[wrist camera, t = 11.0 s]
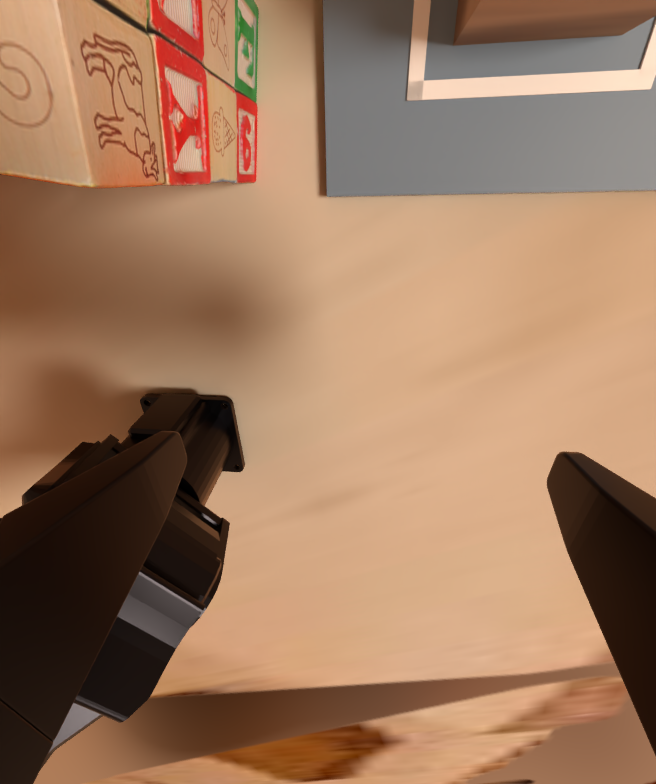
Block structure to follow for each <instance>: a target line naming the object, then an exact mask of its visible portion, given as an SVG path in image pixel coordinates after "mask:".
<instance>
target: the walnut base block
mask: <svg viewBox="0 0 656 784" xmlns="http://www.w3.org/2000/svg"><path fill="white" fill-rule="evenodd" d="M655 16H656V0H458V8H457V16H456V24H455V33H454V41H453V46H456V45H473V44H489V43H505V42H521V41H538V40H554V39H570V38H586V37H603V36H619V35H623V34H625V33H626V32H628V31H630V30H632V29H633V28H635V27H637V26H639V25H640V24H642V23H644V22H646V21H647V20H649V19H651V18H653V17H655Z"/></svg>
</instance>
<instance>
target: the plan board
mask: <svg viewBox="0 0 656 784" xmlns="http://www.w3.org/2000/svg"><path fill="white" fill-rule="evenodd" d="M457 8H458V0H323V33H324V82H325V131H326V180H327V197H335V196H386V195H436V194H487V193H538V192H588V191H639V190H656V16H655V17H653V18H651V19H649V20H647V21H646V22H644V23H642V24H640V25H639V26H637V27H635V28H633V29H632V30H630V31H628V32H626V33H625V34H623V35H619V36H603V37H586V38H570V39H554V40H538V41H521V42H505V43H489V44H473V45H456V46H453V41H454V33H455V24H456V16H457Z"/></svg>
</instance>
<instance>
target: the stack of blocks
mask: <svg viewBox="0 0 656 784" xmlns="http://www.w3.org/2000/svg"><path fill="white" fill-rule="evenodd" d="M258 12H259V11H258V7H257V5H256V4H255V2H254V0H0V174H2V175H9V176H15V177H21V178H27V179H33V180H39V181H45V182H51V183H57V184H64V185H70V186H77V187H88V188H117V187H141V186H155V185H169V186H174V185H176V186H189V185H198V184H209V183H215V182H228V183H254V182H255V181H256V159H257V103H256V93H257V50H258Z"/></svg>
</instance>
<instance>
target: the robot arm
mask: <svg viewBox="0 0 656 784" xmlns="http://www.w3.org/2000/svg"><path fill="white" fill-rule="evenodd" d="M147 400H148V401H150V403H149V402H148V401H147ZM140 403H141V406H142V409H143V412H144V414H143V415H142V416H141V417H140V418H139V419H138V420H137V421H136V422H135V423H134V424H133V425H132V426H131V428H130V429H129V430H128V433H129V436H128V437H127V438H126V439H125V440H124V441H123V442H122V443H121V444H120V443H119V442H118V441H119V440H118V439H117V438H115V437H114V436H113V435H111V434H110V435H109V436H108V437H107V438H106V439H105V440H104V441H103V442H102V443H100V442H99V441H97V442H96V443H95V444H94V443H86V442H82V443H81V444H80V445H79V446H78V447H76V448H75V449H74V450H73V451H72V452H71V453H70V454H69V455H68V456H67V457H65V458H64V459H63V460H62V461H61V462H60V463H59V464H58V465H56V466H55V467H54V468H53V469H52V470H51V471H49V472H48V473H47V474H46V475H45V476H44V477H42V478H41V479H40V480H39V481H38V482H36V483H35V484H34V485H33V486H32V487H31V488H30V489H29V490H28V491H26V492H25V493H24V494H23V495H22V506H21V507H19V508H17V509H15V510H13V511H11V512H9V513H8V514H6V515H4V516H3V518H0V784H33V783H34V781H35V779H36V777H37V775H38V773H39V771H40V770H41V768H42V767H43V765H44V764H45V763H46V761H47V760H48V759H49V757H50V756H51V755H52V753H53V752H54V751H55V750H56V749H57V748H59V747H60V746H61V745H63V744H64V743H65V742H67V741H68V740H70V739H71V738H73V737H74V736H75V735H77V734H78V733H80V732H81V731H82V730H84V729H85V728H87V727H88V726H89V725H90V724H92V723H94V722H95V721H96V720H98V719H99V718H101V717H102V716H105V717H108V718H110V719H112V720H114V721H117V722H123V721H125V720H126V719H128V718H129V717H130V716H131V715H132V714H133V713H134V712H135V711H136V710H137V709H138V708H139V707H140V706H141V705H142V704H143V703H144V702H146V701H147V700H148V698H149V697H150V696H151V694H152V692H153V690H154V688H155V686H156V685H157V683H158V681H159V679H160V677H161V675H162V673H163V671H164V669H165V667H166V666H167V664H168V662H169V660H170V658H171V657H172V655H173V653H174V651H175V649H176V648H177V646H178V645H179V643H180V642H181V640H182V639H183V637H184V636H185V634H186V633H187V631H188V630H189V628H190V627H191V626H193V625H194V623H195V622H196V621H197V620H198V619H199V618H200V617H201V615H202V614H203V613H204V611H205V610H206V609H207V607H208V605H209V604H210V602H211V600H212V599H213V597H214V595H215V593H216V591H217V588H218V585H219V583H220V580H221V575H222V570H223V564H224V557H225V551H226V544H227V538H228V531H229V525H230V523H229V522H228V521H227V520H225V519H224V518H220V517H219V516H217V515H216V514H214V513H213V512H212V511H210V510H209V509H208V508H206V507H205V504H206V502H207V500H208V498H209V496H210V494H211V492H212V490H213V488H214V486H215V484H216V482H217V480H218V478H219V476H220V474H221V472H222V471H229V472H241V471H242V470H243V469H244V466H245V462H244V457H243V452H242V446H241V441H240V436H239V431H238V426H237V420H236V415H235V410H234V405H233V402H232V400H231V399H229V398H228V397H213V396H199V395H190V394H146V395H144V396H143V397H142V398H141V400H140ZM223 403H225V404H226V405H227V406H224V405H223ZM237 465H239V466H237ZM547 488H548V492H549V495H550V498H551V501H552V505H553V508H554V511H555V514H556V517H557V521H558V524H559V527H560V530H561V534H562V537H563V540H564V543H565V546H566V549H567V552H568V554H569V557H570V559H571V562H572V564H573V566H574V569H575V571H576V573H577V576H578V578H579V580H580V582H581V585H582V587H583V589H584V592H585V594H586V596H587V599H588V601H589V603H590V606H591V608H592V610H593V612H594V615H595V617H596V619H597V622H598V624H599V626H600V629H601V631H602V633H603V636H604V638H605V640H606V642H607V645H608V647H609V649H610V652H611V654H612V656H613V659H614V661H615V663H616V666H617V668H618V670H619V672H620V675H621V677H622V679H623V682H624V684H625V686H626V689H627V691H628V693H629V696H630V698H631V700H632V702H633V705H634V707H635V709H636V712H637V714H638V716H639V719H640V721H641V723H642V725H643V728H644V730H645V732H646V735H647V737H648V739H649V742H650V744H651V746H652V748H653V751H654V753H655V755H656V498H654V497H653V496H651V495H649V494H648V493H646V492H644V491H643V490H641V489H640V488H638V487H636V486H635V485H633V484H631V483H630V482H628V481H626V480H625V479H623V478H621V477H620V476H618V475H617V474H615V473H613V472H612V471H610V470H608V469H607V468H605V467H603V466H602V465H600V464H599V463H597V462H595V461H594V460H592V459H590V458H589V457H587V456H585V455H584V454H582V453H579V452H560V453H559V454H558V455H557V456H556V458H555V461H554V463H553V466H552V468H551V470H550V473H549V475H548V478H547Z"/></svg>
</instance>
